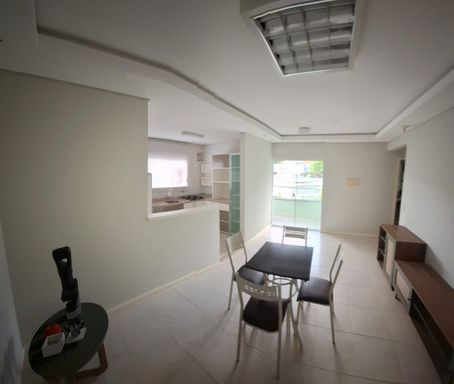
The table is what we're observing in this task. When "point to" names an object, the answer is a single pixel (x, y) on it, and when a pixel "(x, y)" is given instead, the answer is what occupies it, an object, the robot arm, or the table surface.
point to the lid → (75, 335)
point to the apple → (52, 330)
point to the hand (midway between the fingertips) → (76, 334)
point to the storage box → (53, 344)
